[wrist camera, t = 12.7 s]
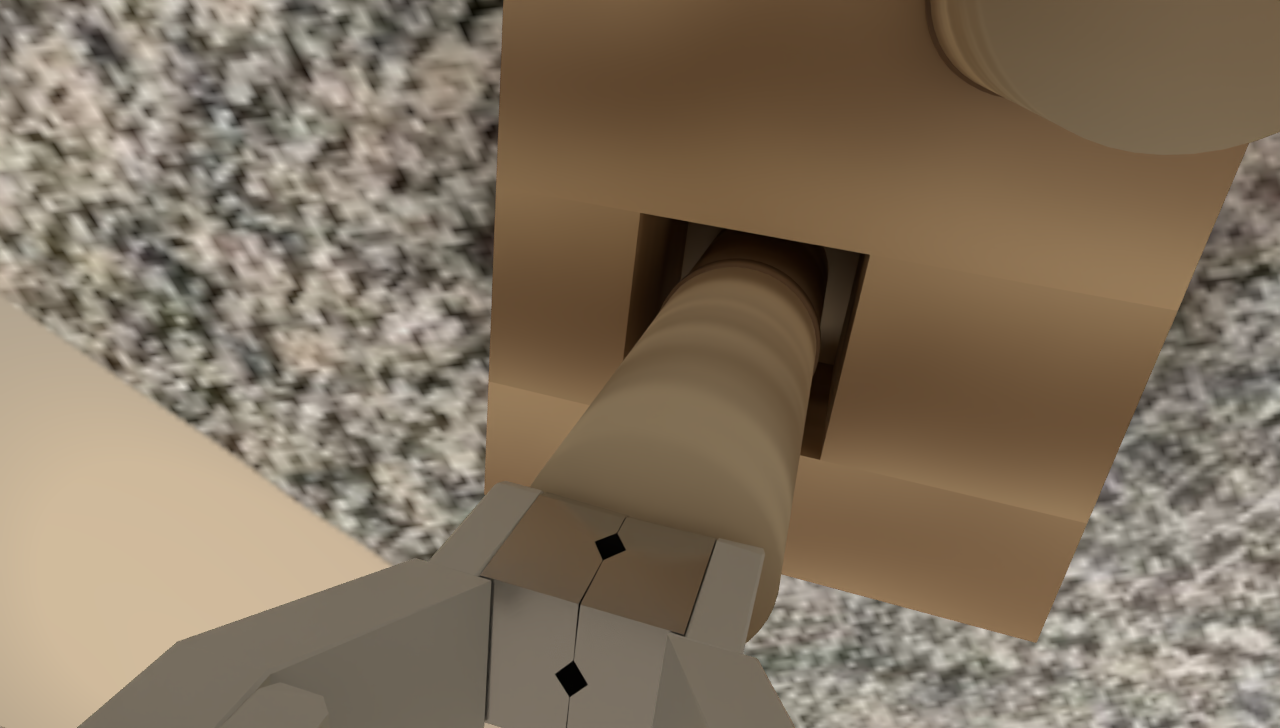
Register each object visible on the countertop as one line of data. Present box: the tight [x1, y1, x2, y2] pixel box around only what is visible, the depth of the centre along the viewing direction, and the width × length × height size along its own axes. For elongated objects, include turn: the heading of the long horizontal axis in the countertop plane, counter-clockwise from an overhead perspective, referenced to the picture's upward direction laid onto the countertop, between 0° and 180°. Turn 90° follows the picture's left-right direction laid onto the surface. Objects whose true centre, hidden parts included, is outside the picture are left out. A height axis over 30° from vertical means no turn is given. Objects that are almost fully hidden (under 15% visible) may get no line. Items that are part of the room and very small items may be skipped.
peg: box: [530, 228, 828, 643], centre depth 14 cm, size 3×3×12 cm
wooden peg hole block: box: [484, 0, 1280, 643], centre depth 14 cm, size 14×12×14 cm
